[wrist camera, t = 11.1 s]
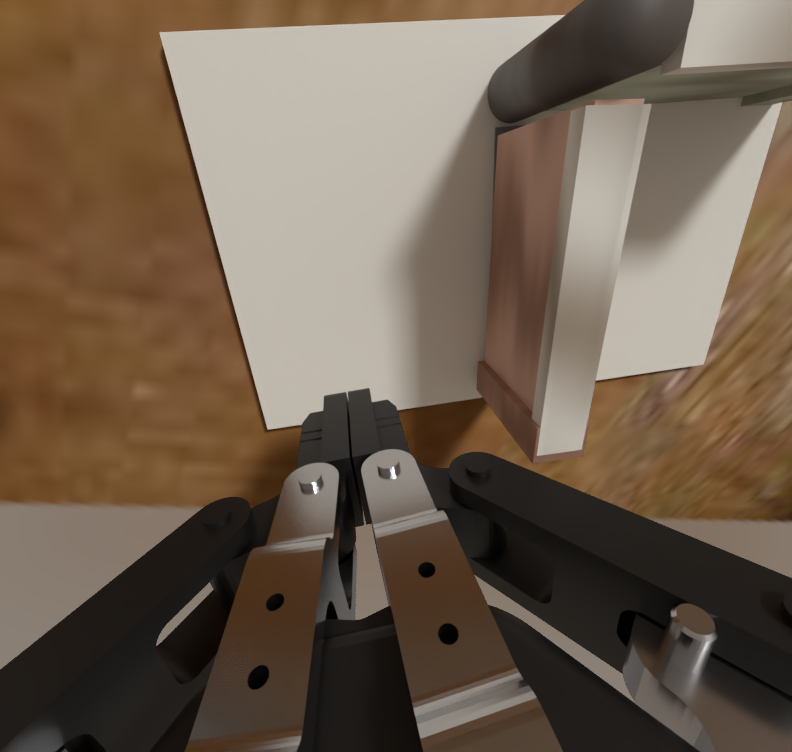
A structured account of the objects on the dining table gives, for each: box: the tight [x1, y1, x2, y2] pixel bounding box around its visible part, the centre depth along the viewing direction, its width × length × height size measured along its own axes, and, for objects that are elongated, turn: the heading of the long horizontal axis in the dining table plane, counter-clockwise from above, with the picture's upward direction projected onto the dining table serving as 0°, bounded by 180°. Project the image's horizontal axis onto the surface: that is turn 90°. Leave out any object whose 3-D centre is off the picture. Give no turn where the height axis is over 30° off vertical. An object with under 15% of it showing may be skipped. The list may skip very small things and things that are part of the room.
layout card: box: [159, 15, 782, 430], centre depth 16 cm, size 22×14×1 cm, turn 95°
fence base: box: [487, 0, 792, 123], centre depth 11 cm, size 12×2×6 cm, turn 95°
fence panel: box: [477, 99, 652, 464], centre depth 13 cm, size 10×2×6 cm, turn 3°
